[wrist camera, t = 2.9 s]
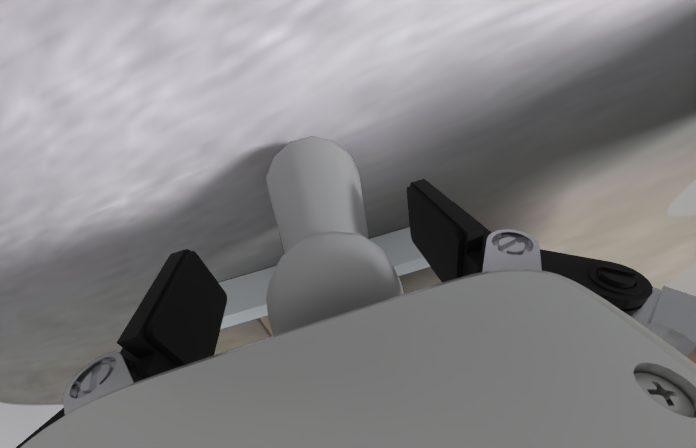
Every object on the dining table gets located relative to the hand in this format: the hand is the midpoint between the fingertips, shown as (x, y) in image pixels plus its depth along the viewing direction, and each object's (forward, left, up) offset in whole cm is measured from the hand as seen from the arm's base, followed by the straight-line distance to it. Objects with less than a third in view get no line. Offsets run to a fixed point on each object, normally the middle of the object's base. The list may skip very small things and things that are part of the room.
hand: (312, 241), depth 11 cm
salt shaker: (-1, 0, -9) cm, 9 cm away
